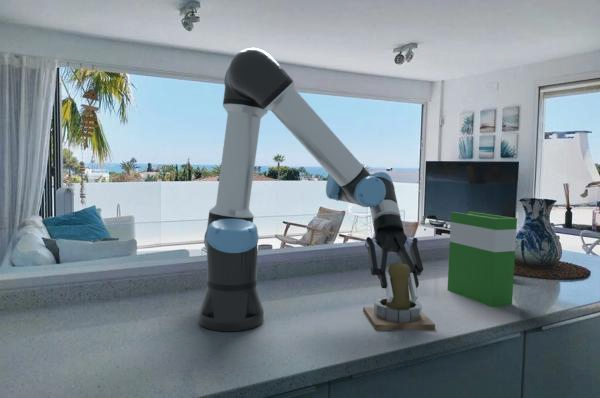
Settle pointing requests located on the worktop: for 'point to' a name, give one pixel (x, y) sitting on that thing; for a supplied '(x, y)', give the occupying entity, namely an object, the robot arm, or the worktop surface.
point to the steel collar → (397, 312)
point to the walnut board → (386, 325)
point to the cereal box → (482, 257)
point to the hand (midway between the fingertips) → (402, 299)
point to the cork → (399, 286)
